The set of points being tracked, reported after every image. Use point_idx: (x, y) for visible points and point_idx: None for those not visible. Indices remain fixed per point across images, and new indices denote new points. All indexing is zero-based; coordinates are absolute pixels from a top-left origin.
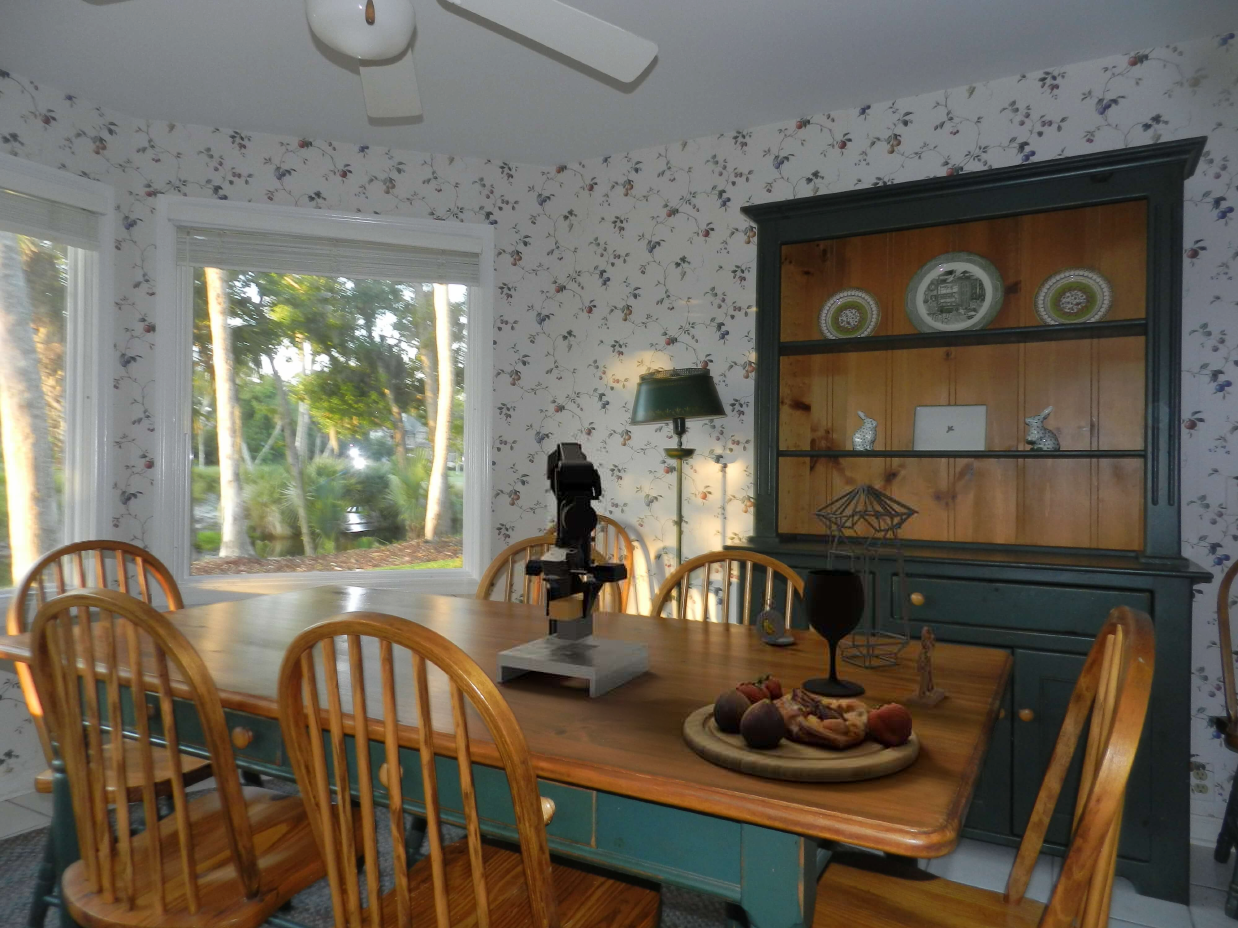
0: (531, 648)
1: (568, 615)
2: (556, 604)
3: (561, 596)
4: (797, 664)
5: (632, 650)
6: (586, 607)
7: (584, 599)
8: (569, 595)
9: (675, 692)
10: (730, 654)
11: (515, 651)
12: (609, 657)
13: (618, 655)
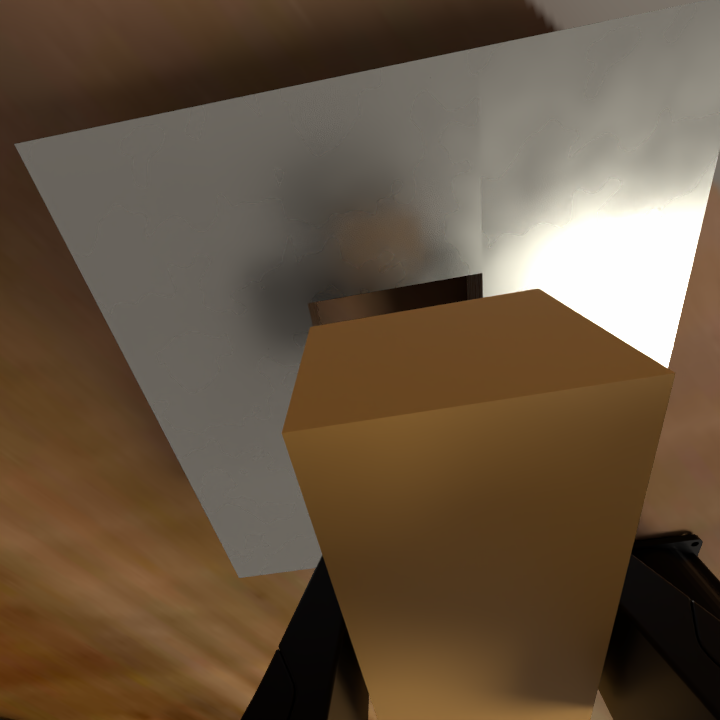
0: (598, 254)
1: (306, 350)
2: (506, 376)
3: (643, 638)
4: (70, 680)
5: (198, 492)
6: (310, 584)
7: (314, 664)
8: (608, 705)
9: (17, 390)
10: (225, 669)
11: (654, 133)
12: (163, 361)
13: (166, 408)
